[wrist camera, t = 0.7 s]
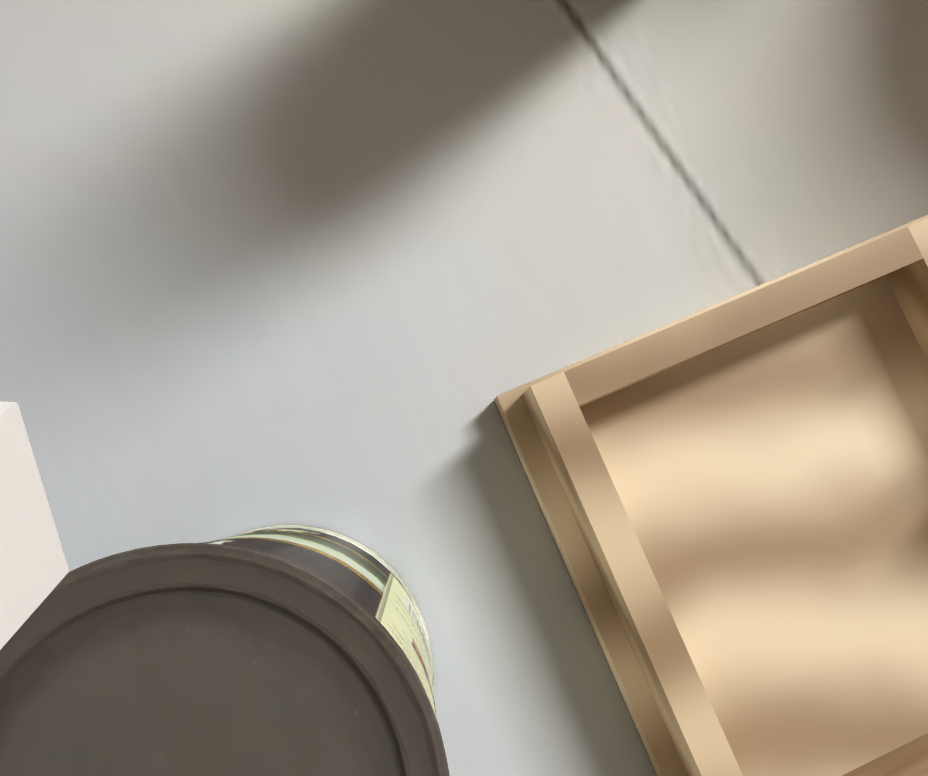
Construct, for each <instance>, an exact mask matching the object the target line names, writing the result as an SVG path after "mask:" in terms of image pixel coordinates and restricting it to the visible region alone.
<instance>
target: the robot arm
mask: <svg viewBox="0 0 928 776" xmlns="http://www.w3.org/2000/svg"><path fill="white" fill-rule="evenodd" d="M68 572H69V569H68V566H67V562H66V559H65V556H64V553H63V549H62V546H61V543H60V540H59V536H58V533H57V530H56V527H55V523H54V520H53V517H52V514H51V510H50V507H49V504H48V501H47V497H46V494H45V491H44V487H43V484H42V481H41V478H40V474H39V471H38V468H37V465H36V461H35V458H34V455H33V452H32V448H31V445H30V442H29V439H28V435H27V432H26V429H25V426H24V422H23V419H22V416H21V413H20V409H19V406H18V403H17V402H2V401H0V650H1V649H2V647H3V646H4V645H5V644H6V643H7V642H8V641H9V639H10V638H11V637H12V636H13V635H14V634H15V633H16V631H17V630H18V629H19V628H20V627H21V626H22V625H23V623H24V622H25V621H26V620H27V619H28V618H29V617H30V615H31V614H32V613H33V612H34V611H35V610H36V609H37V608H38V606H39V605H40V604H41V603H42V602H43V601H44V600H45V598H46V597H47V596H48V595H49V594H50V593H51V592H52V590H53V589H54V588H55V587H56V586H57V585H58V584H59V582H60V581H61V580H62V579H63V578H64V577H65V576H66V574H67V573H68Z"/></svg>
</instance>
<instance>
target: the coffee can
mask: <svg viewBox="0 0 928 776" xmlns="http://www.w3.org/2000/svg"><path fill="white" fill-rule="evenodd" d="M433 680H434V679H433V660H432V651H431V645H430V640H429V635H428V631H427V628H426V625H425V622H424V619H423V616H422V614H421V612H420V610H419V607H418V605H417V603H416V601H415V600H414V598H413V596H412V594H411V592H410V591H409V589H408V588H407V586H406V585H405V583H404V582H403V581H402V580H401V579H400V577H399V575H398V574H397V572H396V571H394V570H393V569H392V568H391V567H390V566H389V565H388V564H387V563H386V562H385V561H383V560H382V559H381V558H380V557H379V556H378V555H377V554H375V553H374V552H372V551H371V550H370V549H368V548H366V547H365V546H363V545H362V544H360V543H358V542H356V541H354V540H352V539H350V538H348V537H346V536H343V535H341V534H338V533H335V532H332V531H329V530H325V529H321V528H315V527H309V526H303V525H276V526H268V527H262V528H258V529H253V530H250V531H246V532H243V533H240V534H238V535H235V536H232V537H230V538H225V539H220V540H215V541H211V542H205V543H181V544H170V545H158V546H152V547H145V548H139V549H134V550H130V551H126V552H122V553H118V554H114V555H111V556H108V557H105V558H102V559H99V560H96V561H94V562H91V563H89V564H86V565H84V566H81V567H79V568H77V569H75V570H73V571H71V572H68V573H67V574H66V576H65V577H64V578H63V579H62V580H61V581H60V582H59V584H58V585H57V586H56V587H55V588H54V589H53V590H52V592H51V593H50V594H49V595H48V596H47V597H46V598H45V600H44V601H43V602H42V603H41V604H40V605H39V606H38V608H37V609H36V610H35V611H34V612H33V613H32V614H31V615H30V617H29V618H28V619H27V620H26V621H25V622H24V623H23V625H22V626H21V627H20V628H19V629H18V630H17V631H16V633H15V634H14V635H13V636H12V637H11V638H10V639H9V641H8V642H7V643H6V644H5V645H4V646H3V647H2V649H1V650H0V776H449V770H448V764H447V759H446V754H445V749H444V745H443V740H442V736H441V733H440V729H439V725H438V722H437V719H436V711H435V702H434V696H433Z"/></svg>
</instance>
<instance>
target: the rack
mask: <svg viewBox="0 0 928 776" xmlns="http://www.w3.org/2000/svg"><path fill="white" fill-rule="evenodd" d="M494 401H495V403H496V406H497V408H498V410H499V412H500V415H501V417H502V419H503V422H504V424H505V426H506V429H507V431H508V433H509V436H510V438H511V440H512V442H513V445H514V447H515V449H516V452H517V454H518V456H519V459H520V461H521V463H522V466H523V468H524V470H525V472H526V475H527V477H528V479H529V482H530V484H531V486H532V489H533V491H534V493H535V495H536V498H537V500H538V502H539V505H540V507H541V509H542V512H543V514H544V516H545V519H546V521H547V523H548V525H549V528H550V530H551V532H552V535H553V537H554V539H555V542H556V544H557V546H558V549H559V551H560V553H561V555H562V558H563V560H564V562H565V565H566V567H567V569H568V572H569V574H570V576H571V578H572V581H573V583H574V585H575V588H576V590H577V592H578V595H579V597H580V599H581V602H582V604H583V606H584V608H585V611H586V613H587V615H588V618H589V620H590V622H591V625H592V627H593V629H594V632H595V634H596V636H597V638H598V641H599V643H600V645H601V648H602V650H603V652H604V655H605V657H606V659H607V661H608V664H609V666H610V668H611V671H612V673H613V675H614V678H615V680H616V682H617V685H618V687H619V689H620V691H621V694H622V696H623V698H624V701H625V703H626V705H627V708H628V710H629V712H630V715H631V717H632V719H633V721H634V724H635V726H636V728H637V731H638V733H639V735H640V738H641V740H642V742H643V744H644V747H645V749H646V751H647V754H648V756H649V758H650V761H651V763H652V765H653V768H654V770H655V772H656V774H657V776H928V215H925V216H923V217H920V218H918V219H916V220H913V221H911V222H909V223H906V224H904V225H901V226H899V227H897V228H894V229H892V230H890V231H887V232H885V233H882V234H880V235H878V236H875V237H873V238H871V239H868V240H866V241H863V242H861V243H859V244H856V245H854V246H852V247H849V248H847V249H845V250H842V251H840V252H837V253H835V254H833V255H830V256H828V257H826V258H823V259H821V260H818V261H816V262H814V263H811V264H809V265H807V266H804V267H802V268H799V269H797V270H795V271H792V272H790V273H788V274H785V275H783V276H780V277H778V278H776V279H773V280H771V281H769V282H766V283H764V284H761V285H759V286H757V287H754V288H752V289H750V290H747V291H745V292H743V293H740V294H738V295H735V296H733V297H731V298H728V299H726V300H724V301H721V302H719V303H716V304H714V305H712V306H709V307H707V308H705V309H702V310H700V311H697V312H695V313H693V314H690V315H688V316H686V317H683V318H681V319H678V320H676V321H674V322H671V323H669V324H667V325H664V326H662V327H659V328H657V329H655V330H652V331H650V332H648V333H645V334H643V335H641V336H638V337H636V338H633V339H631V340H629V341H626V342H624V343H622V344H619V345H617V346H614V347H612V348H610V349H607V350H605V351H603V352H600V353H598V354H595V355H593V356H591V357H588V358H586V359H584V360H581V361H579V362H576V363H574V364H572V365H569V366H567V367H565V368H562V369H560V370H557V371H555V372H553V373H550V374H548V375H546V376H543V377H541V378H539V379H536V380H534V381H531V382H529V383H527V384H524V385H522V386H520V387H517V388H515V389H512V390H510V391H508V392H505V393H503V394H501V395H498V396H497V397H496V398H495V399H494Z"/></svg>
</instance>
